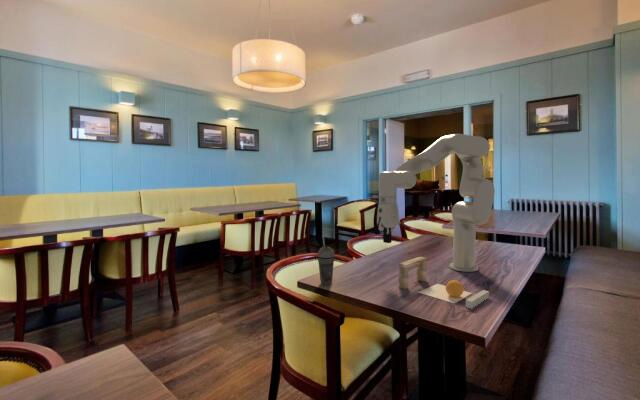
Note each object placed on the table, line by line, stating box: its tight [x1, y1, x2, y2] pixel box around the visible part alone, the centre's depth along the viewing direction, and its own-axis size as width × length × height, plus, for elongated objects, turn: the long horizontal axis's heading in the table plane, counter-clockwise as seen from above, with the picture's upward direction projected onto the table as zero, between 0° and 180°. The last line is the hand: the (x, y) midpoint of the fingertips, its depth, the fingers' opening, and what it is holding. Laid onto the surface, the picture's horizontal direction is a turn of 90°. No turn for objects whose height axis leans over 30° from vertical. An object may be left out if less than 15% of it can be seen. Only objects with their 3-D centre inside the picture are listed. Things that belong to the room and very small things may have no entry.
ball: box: [445, 279, 465, 297], centre depth 120 cm, size 6×6×6 cm
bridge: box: [398, 256, 427, 290], centre depth 134 cm, size 3×15×10 cm, turn 131°
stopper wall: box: [465, 289, 490, 310], centre depth 114 cm, size 14×2×2 cm, turn 131°
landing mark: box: [418, 283, 473, 304], centre depth 124 cm, size 14×14×1 cm
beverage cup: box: [317, 235, 336, 287], centre depth 134 cm, size 7×7×20 cm
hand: (387, 242), depth 143 cm, fingers closed
